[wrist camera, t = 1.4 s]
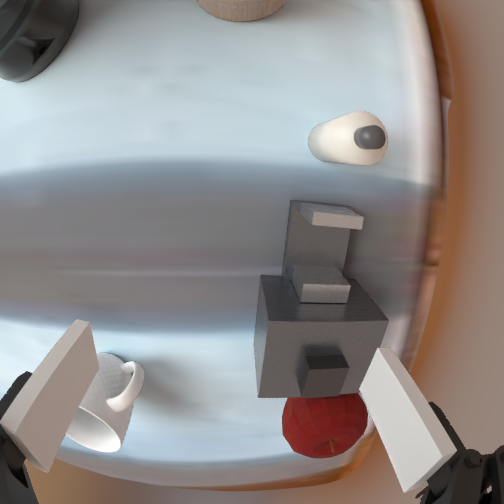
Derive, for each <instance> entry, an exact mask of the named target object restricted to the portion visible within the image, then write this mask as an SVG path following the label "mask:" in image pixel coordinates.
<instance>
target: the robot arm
mask: <svg viewBox="0 0 504 504" xmlns="http://www.w3.org/2000/svg"><path fill="white" fill-rule="evenodd" d="M78 10H79V8H78V2H77V0H0V77H1V78H2V79H4V80H8V81H13V82H22V81H26V80H28V79H30V78H32V77H34V76H35V75H37V74H38V73H40V72H41V71H42V70H43V69H45V68H46V67H47V66H48V65H49V64H50V63H51V62H52V61H53V60H54V58H55V57H56V56H57V55H58V54H59V52H60V51H61V50H62V48H63V47H64V45H65V44H66V42H67V41H68V39H69V37H70V35H71V33H72V31H73V29H74V27H75V24H76V21H77V17H78ZM99 368H100V367H99V363H98V359H97V355H96V350H95V346H94V341H93V336H92V331H91V325H90V322H86V321H82V320H77V319H76V320H75V321H74V322H73V324H72V325H71V326H70V327H69V328H68V330H67V331H66V332H65V333H64V334H63V336H62V337H61V338H60V339H59V341H58V342H57V343H56V344H55V345H54V347H53V348H52V349H51V351H50V352H49V353H48V354H47V356H46V357H45V358H44V359H43V361H42V362H41V363H40V365H39V366H38V367H37V369H36V370H35V371H34V373H33V374H32V373H30V372H28V371H26V372H25V373H23V374H22V375H20V376H19V377H17V379H16V380H15V381H14V383H13V384H12V385H11V387H10V388H9V390H8V391H7V394H5V395H4V396H3V398H2V399H1V401H0V504H39V503H38V501H37V498H36V495H35V493H34V490H33V487H32V484H31V482H30V478H29V475H28V472H27V469H26V466H25V464H24V460H25V459H27V460H28V461H29V462H30V463H31V465H33V466H34V467H37V468H38V469H41V470H42V471H45V472H47V473H48V472H49V469H50V467H51V465H52V462H53V460H54V458H55V456H56V453H57V451H58V449H59V447H60V445H61V443H62V440H63V438H64V436H65V434H66V432H67V430H68V428H69V426H70V424H71V422H72V420H73V418H74V416H75V414H76V412H77V410H78V408H79V406H80V404H81V402H82V400H83V398H84V396H85V394H86V392H87V390H88V388H89V387H90V385H91V383H92V381H93V379H94V377H95V375H96V374H97V372H98V370H99ZM359 390H360V392H361V394H362V397H363V399H364V401H365V403H366V405H367V408H368V410H369V412H370V414H371V416H372V419H373V421H374V423H375V425H376V428H377V430H378V432H379V434H380V437H381V439H382V441H383V444H384V446H385V448H386V451H387V453H388V455H389V458H390V460H391V462H392V465H393V467H394V470H395V472H396V474H397V477H398V479H399V482H400V484H401V487H402V489H403V492H404V493H405V492H408V491H411V490H414V489H416V488H418V487H420V486H421V485H422V484H423V483H424V482H426V481H427V482H428V484H429V485H428V486H427V487H426V488H424V489H423V490H422V491H421V492H420V493H418V494H417V496H416V498H419V497H420V496H421V495H422V494H423V497H422V498H421V502H420V504H504V445H503V446H500V447H499V448H498V449H497V450H496V451H495V452H494V453H493V454H486V455H481V454H480V453H479V452H478V451H476V450H474V449H468V450H467V449H466V448H465V447H464V445H463V443H462V442H461V440H460V438H459V437H458V435H457V434H456V432H455V430H454V429H453V427H452V426H451V425H450V423H449V421H448V420H447V419H446V416H445V415H444V413H443V412H442V410H441V409H440V408H439V407H438V406H437V405H436V404H434V403H433V402H429V403H428V402H427V401H426V399H425V398H424V396H423V394H422V393H421V391H420V390H419V388H418V387H417V385H416V384H415V382H414V381H413V379H412V378H411V376H410V375H409V373H408V372H407V370H406V369H405V367H404V366H403V364H402V363H401V362H400V360H399V359H398V357H397V356H396V354H395V353H394V351H393V350H392V349H391V347H382V348H377V350H376V352H375V355H374V357H373V359H372V362H371V364H370V366H369V369H368V371H367V373H366V375H365V377H364V380H363V382H362V384H361V386H360V388H359ZM489 486H492V491H491V492H489V493H487V488H488V487H489Z"/></svg>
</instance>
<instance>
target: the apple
mask: <svg viewBox="0 0 504 504" xmlns="http://www.w3.org/2000/svg"><path fill="white" fill-rule="evenodd" d="M367 419H368V412H367V409H366V405H365V403H364V402H363V400H362V399H361V397H360V395H359V394H358V393H349V394H339V396H331V397H317V398H301V397H288V398H287V401H286V404H285V407H284V411H283V415H282V429H283V436H284V437H285V439H286V440H287V441H288V443H289V445H290V446H291V448H292V449H293V451H294V452H297V453H299V454H302V455H305V456H308V457H311V458H328V457H333V456H336V455H339V454H342V453H344V452H345V451H347V450H348V449H349V448H351V447H352V446H353V445H354V444H355V443H356V442H357V441H358V439H359V438H360V437H361V436H362V435H363V434H364V432H365V429H366V427H367Z"/></svg>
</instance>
